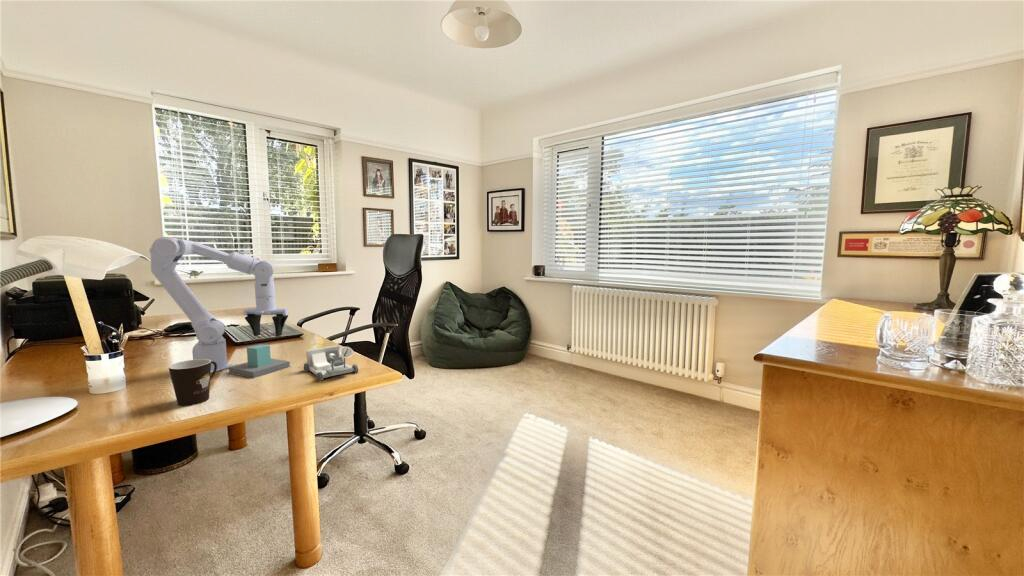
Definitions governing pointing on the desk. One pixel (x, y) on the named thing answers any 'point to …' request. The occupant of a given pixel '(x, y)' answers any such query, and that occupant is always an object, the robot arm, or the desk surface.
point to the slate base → (259, 368)
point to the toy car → (329, 361)
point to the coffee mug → (192, 380)
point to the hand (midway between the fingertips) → (268, 335)
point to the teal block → (258, 355)
